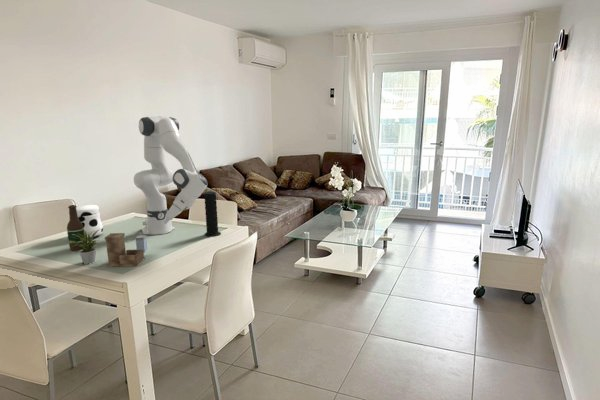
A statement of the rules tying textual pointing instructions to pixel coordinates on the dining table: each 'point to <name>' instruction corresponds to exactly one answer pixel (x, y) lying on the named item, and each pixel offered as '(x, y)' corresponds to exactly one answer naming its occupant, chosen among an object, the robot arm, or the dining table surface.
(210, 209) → the handle grip
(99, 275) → the dining table surface
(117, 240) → the brown l-shaped block
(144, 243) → the rail end
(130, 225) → the dining table surface
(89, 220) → the milk container
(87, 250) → the house plant
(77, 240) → the beer bottle
